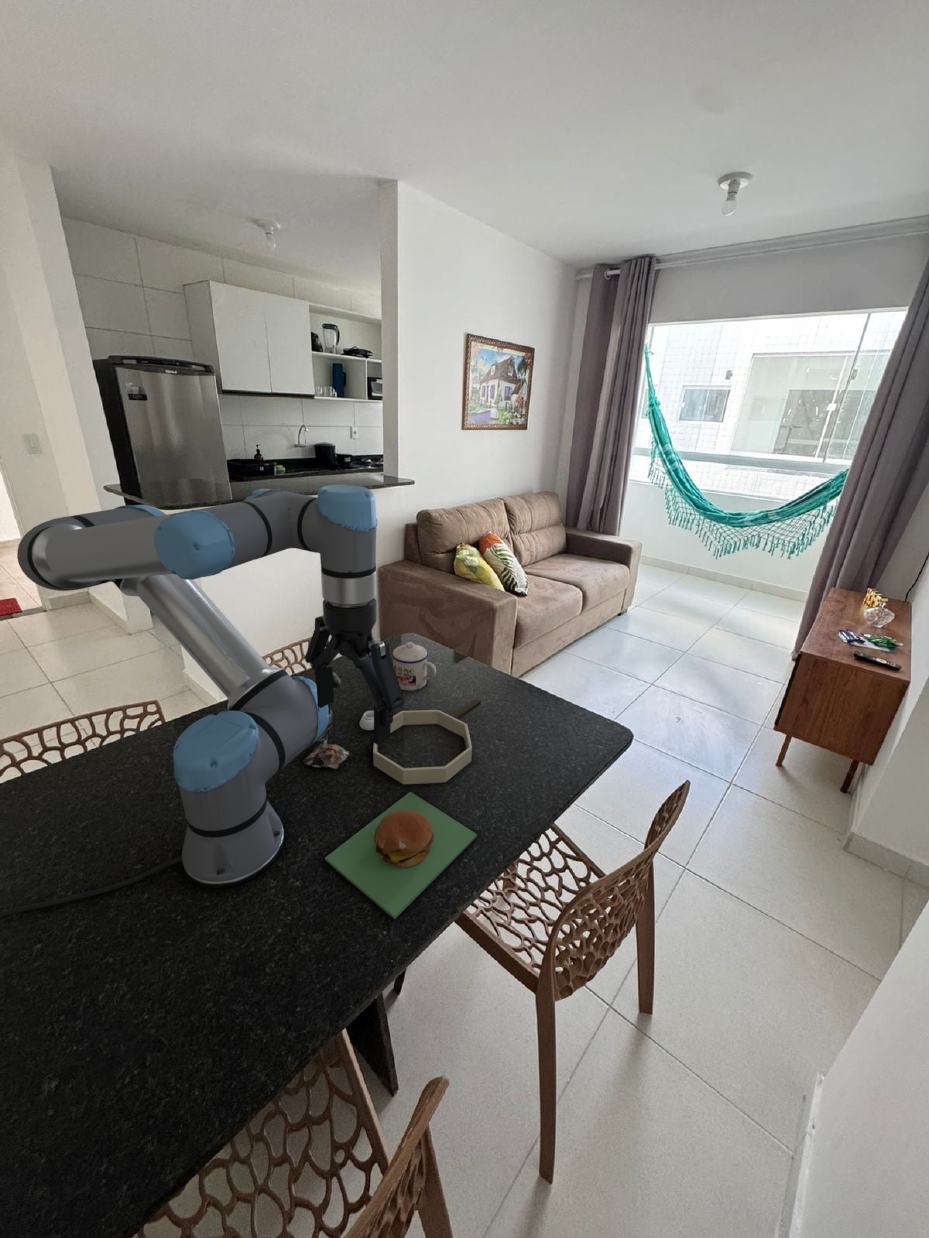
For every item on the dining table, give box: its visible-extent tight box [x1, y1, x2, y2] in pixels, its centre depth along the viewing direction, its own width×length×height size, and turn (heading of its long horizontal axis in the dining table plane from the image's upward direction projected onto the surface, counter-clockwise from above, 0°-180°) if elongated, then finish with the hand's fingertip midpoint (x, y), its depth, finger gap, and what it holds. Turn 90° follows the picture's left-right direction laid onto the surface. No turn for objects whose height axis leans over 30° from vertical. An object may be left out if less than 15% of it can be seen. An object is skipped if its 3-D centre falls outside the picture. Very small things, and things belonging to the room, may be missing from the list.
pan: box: [372, 698, 482, 785], centre depth 113 cm, size 30×20×4 cm
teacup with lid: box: [391, 641, 437, 692], centre depth 132 cm, size 12×9×12 cm
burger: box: [374, 810, 434, 868], centre depth 85 cm, size 10×9×5 cm
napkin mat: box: [324, 791, 478, 920], centre depth 86 cm, size 20×16×1 cm
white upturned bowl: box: [359, 710, 374, 731], centre depth 117 cm, size 5×3×5 cm
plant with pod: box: [303, 671, 353, 770], centre depth 102 cm, size 8×11×20 cm
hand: (352, 721), depth 82 cm, fingers open, 13 cm apart
